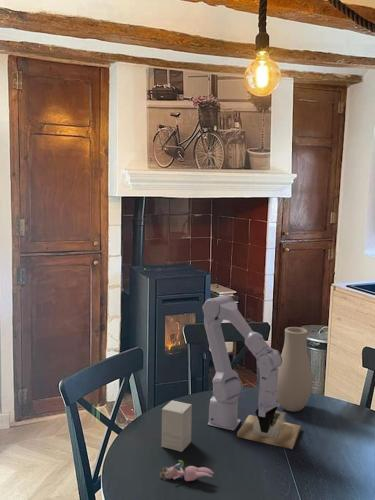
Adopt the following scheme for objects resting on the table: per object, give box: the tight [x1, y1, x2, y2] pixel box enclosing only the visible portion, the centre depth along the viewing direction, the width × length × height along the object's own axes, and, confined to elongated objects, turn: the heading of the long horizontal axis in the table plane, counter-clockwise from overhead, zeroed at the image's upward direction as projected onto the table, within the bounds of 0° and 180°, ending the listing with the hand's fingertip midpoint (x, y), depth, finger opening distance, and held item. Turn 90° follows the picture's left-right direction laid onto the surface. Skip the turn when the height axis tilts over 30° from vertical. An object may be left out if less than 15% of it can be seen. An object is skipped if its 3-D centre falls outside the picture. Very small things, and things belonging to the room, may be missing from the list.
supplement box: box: [161, 400, 193, 453], centre depth 160 cm, size 7×7×13 cm
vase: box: [276, 326, 314, 412], centre depth 186 cm, size 14×14×30 cm
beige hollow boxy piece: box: [253, 410, 287, 440], centre depth 169 cm, size 8×12×4 cm, turn 157°
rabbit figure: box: [159, 459, 214, 482], centre depth 142 cm, size 6×6×15 cm
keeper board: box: [236, 414, 302, 450], centre depth 169 cm, size 18×14×6 cm
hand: (266, 428), depth 164 cm, fingers open, 4 cm apart
